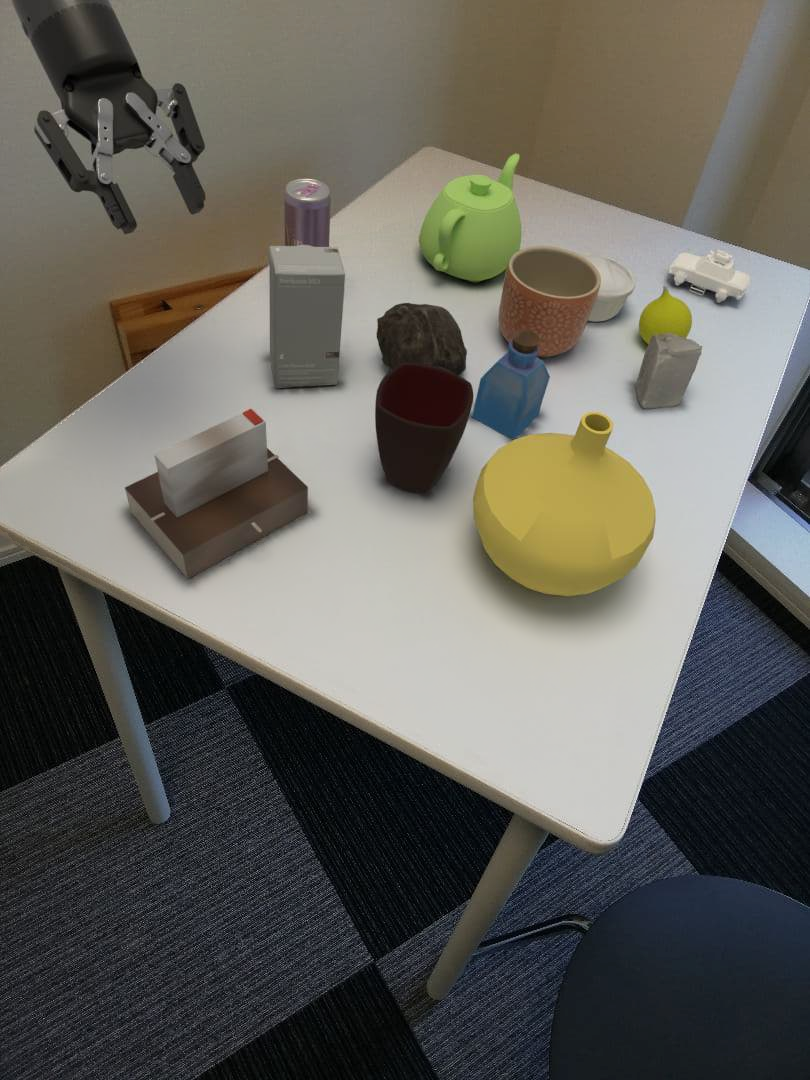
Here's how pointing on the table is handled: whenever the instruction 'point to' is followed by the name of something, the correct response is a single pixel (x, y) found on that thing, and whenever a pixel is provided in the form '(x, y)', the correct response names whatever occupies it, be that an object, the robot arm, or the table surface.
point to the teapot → (473, 226)
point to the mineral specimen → (666, 370)
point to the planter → (548, 296)
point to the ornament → (665, 317)
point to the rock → (421, 337)
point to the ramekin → (610, 286)
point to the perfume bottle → (513, 387)
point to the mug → (420, 423)
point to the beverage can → (307, 213)
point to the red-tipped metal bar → (212, 462)
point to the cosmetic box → (305, 314)
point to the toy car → (711, 274)
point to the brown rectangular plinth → (219, 516)
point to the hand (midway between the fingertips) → (165, 219)
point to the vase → (564, 510)
